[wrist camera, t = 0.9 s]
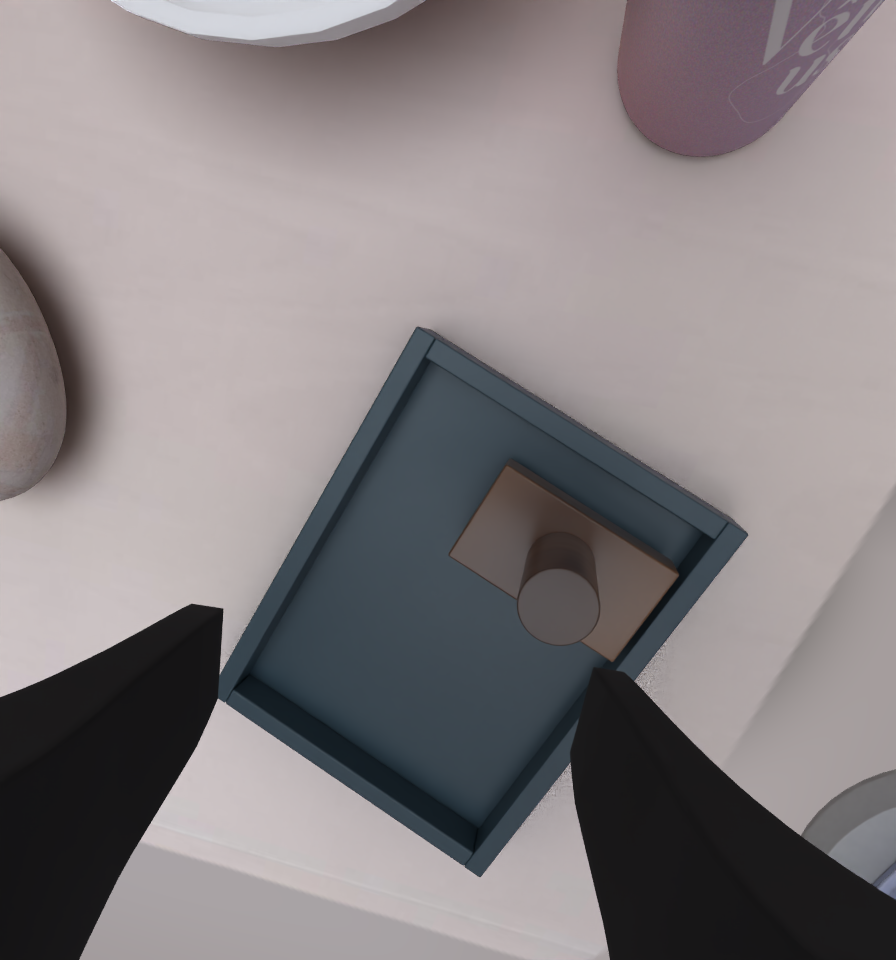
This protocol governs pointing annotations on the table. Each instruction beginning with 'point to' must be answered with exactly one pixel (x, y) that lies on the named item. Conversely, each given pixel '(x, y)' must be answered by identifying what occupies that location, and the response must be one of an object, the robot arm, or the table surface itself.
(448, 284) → the table surface
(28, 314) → the decorative stone
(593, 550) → the wooden stamp
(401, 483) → the tray
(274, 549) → the table surface
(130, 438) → the table surface
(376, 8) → the bowl
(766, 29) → the beverage can
